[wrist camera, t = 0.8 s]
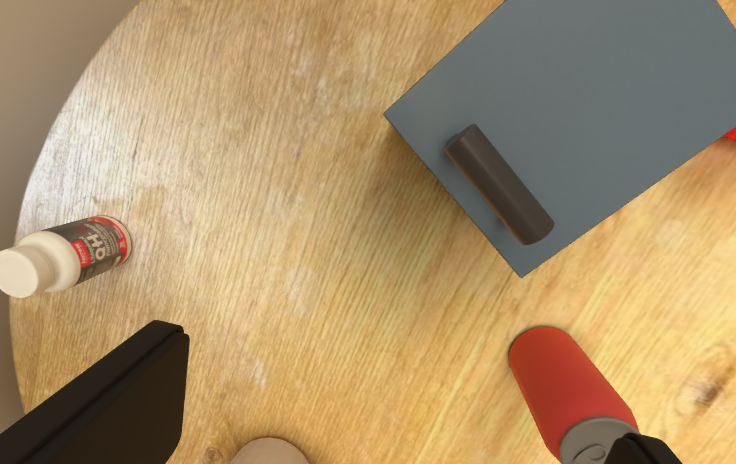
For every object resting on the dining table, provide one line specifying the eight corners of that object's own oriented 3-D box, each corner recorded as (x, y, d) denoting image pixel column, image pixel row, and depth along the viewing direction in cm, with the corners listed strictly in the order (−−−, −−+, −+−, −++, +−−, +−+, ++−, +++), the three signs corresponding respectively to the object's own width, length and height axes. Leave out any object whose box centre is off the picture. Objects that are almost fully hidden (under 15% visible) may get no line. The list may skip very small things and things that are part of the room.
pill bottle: (143, 240, 38) (58, 276, 29) (115, 275, 40) (25, 320, 30) (100, 203, 38) (-1, 227, 28) (73, 239, 39) (-32, 274, 29)
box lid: (517, 274, 23) (549, 315, 18) (383, 114, 22) (376, 109, 16) (765, 97, 20) (895, 84, 14) (627, -112, 18) (718, -210, 13)
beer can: (494, 344, 38) (534, 438, 26) (555, 311, 36) (627, 396, 25) (528, 393, 39) (580, 505, 27) (588, 363, 37) (672, 468, 26)
